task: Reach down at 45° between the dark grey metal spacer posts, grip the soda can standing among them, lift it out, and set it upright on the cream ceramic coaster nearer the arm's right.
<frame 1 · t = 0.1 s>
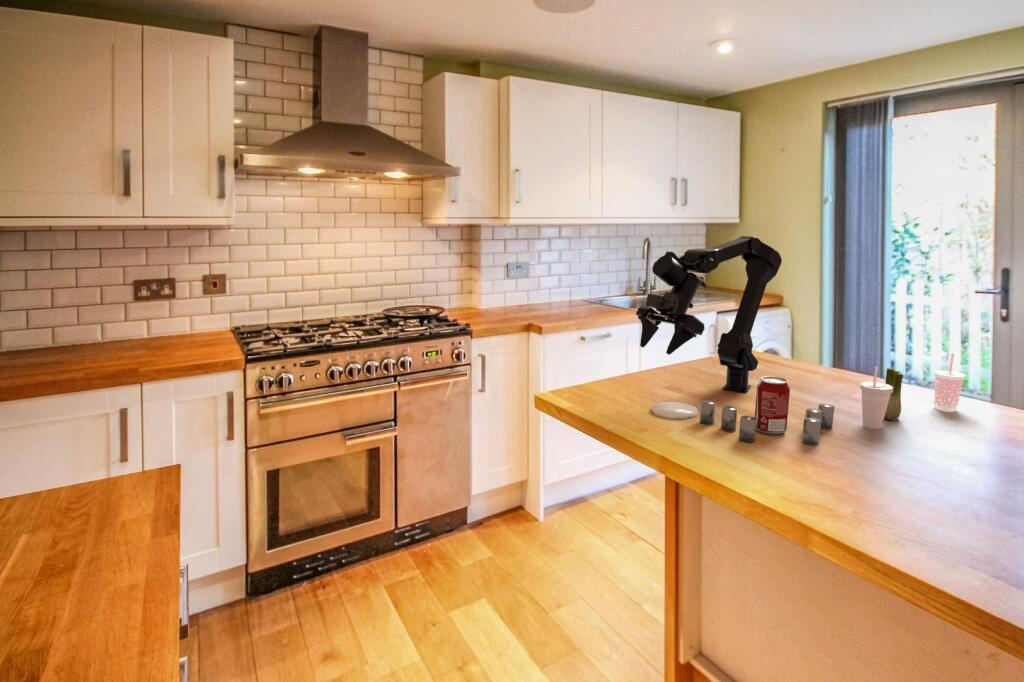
hand: (654, 350, 151), 15 cm above the countertop, tool tilted 35°, fingers open, 9 cm apart
coaster: (674, 411, 151), on the countertop
soda can: (769, 431, 137), on the countertop
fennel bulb: (887, 419, 144), on the countertop
spacer field: (769, 430, 137), on the countertop
smoothie: (871, 427, 139), on the countertop
beverage cup: (944, 409, 150), on the countertop
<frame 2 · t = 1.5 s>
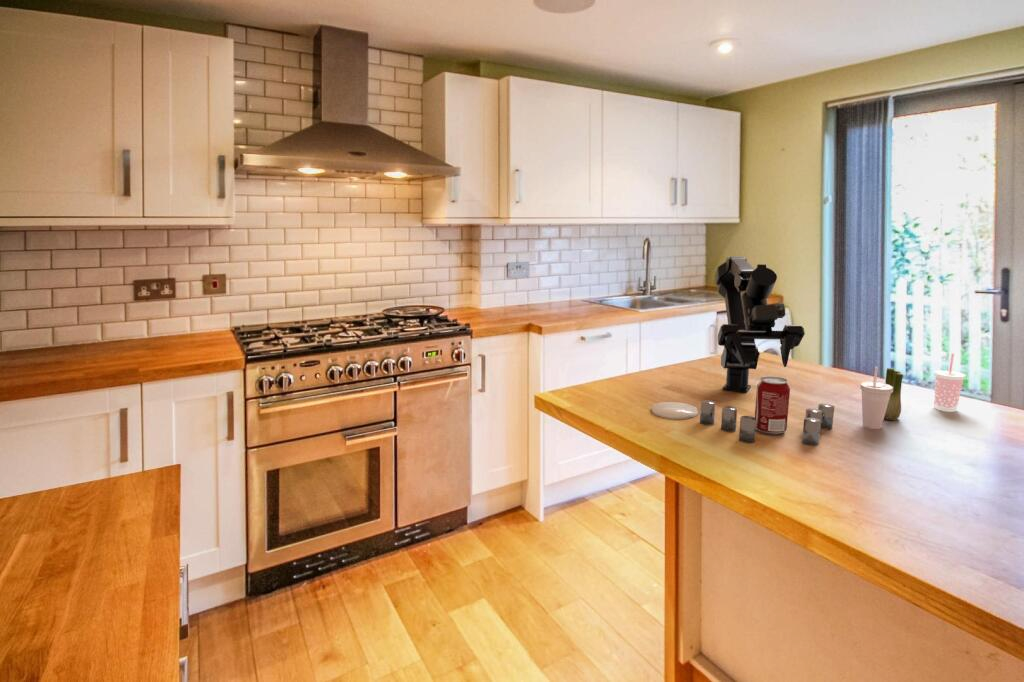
hand: (764, 365, 142), 13 cm above the countertop, tool tilted 45°, fingers open, 9 cm apart
nothing on the countertop moved.
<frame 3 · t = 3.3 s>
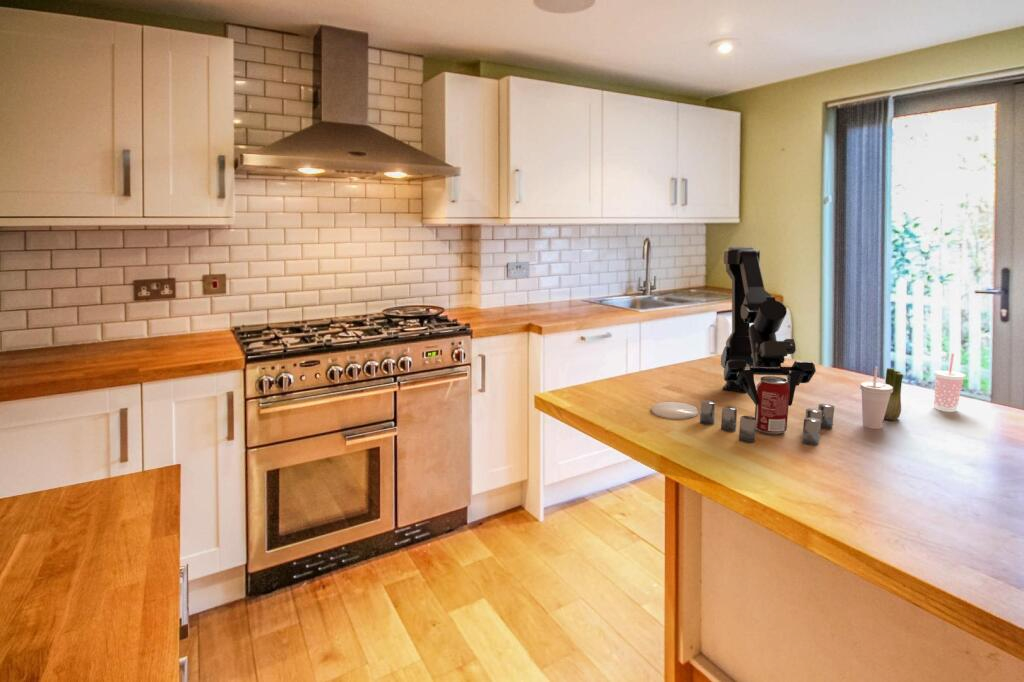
hand: (773, 404, 134), 7 cm above the countertop, tool tilted 45°, fingers closed on soda can, 7 cm apart
soda can: (769, 431, 137), on the countertop, touching gripper
everything else where it was.
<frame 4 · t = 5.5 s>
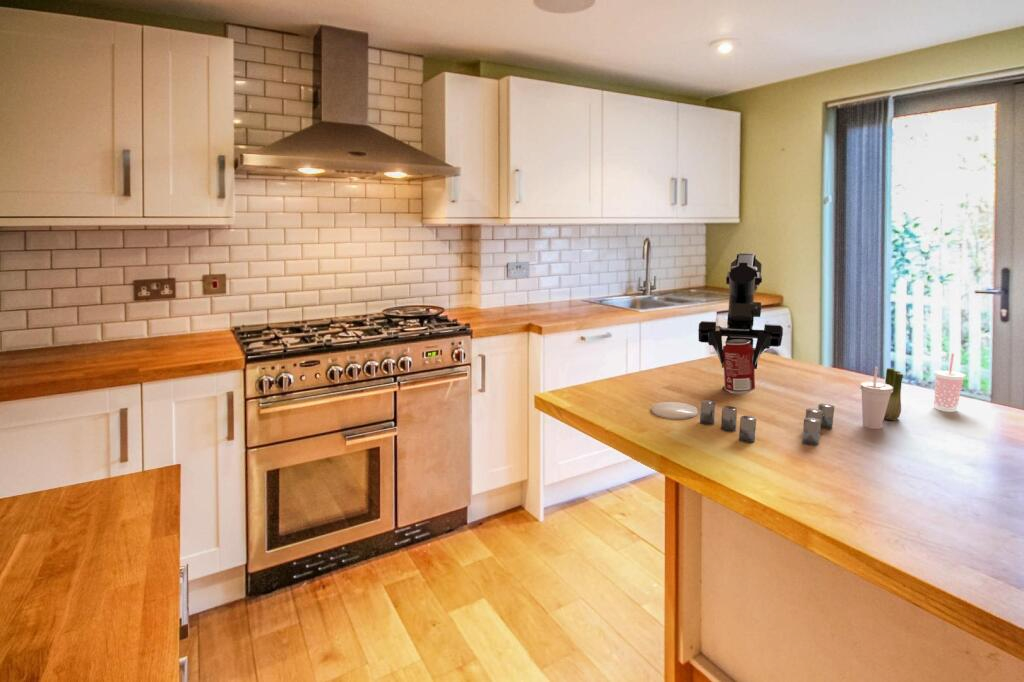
hand: (737, 363, 142), 14 cm above the countertop, tool tilted 45°, fingers closed on soda can, 7 cm apart
soda can: (739, 391, 144), point 6 cm above the countertop, touching gripper
everything else where it was.
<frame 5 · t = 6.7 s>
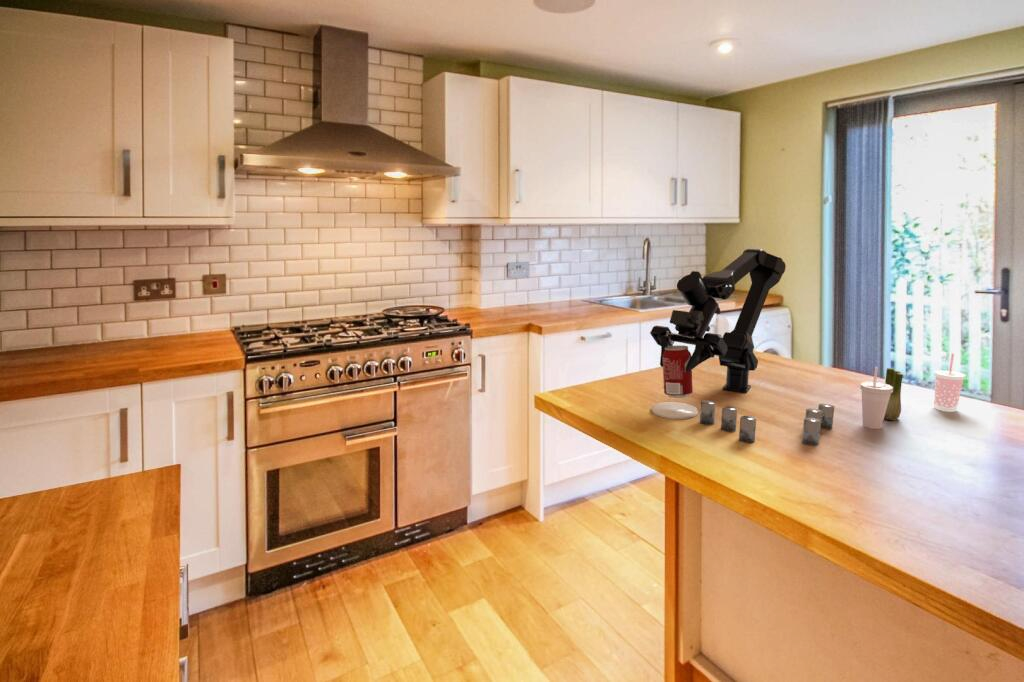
hand: (673, 368, 147), 11 cm above the countertop, tool tilted 45°, fingers closed on soda can, 7 cm apart
soda can: (678, 396, 149), point 4 cm above the countertop, touching gripper
everything else where it was.
when the fingers open (8 cm above the countertop, at t = 7.7 s): soda can stays where it is, resting on coaster.
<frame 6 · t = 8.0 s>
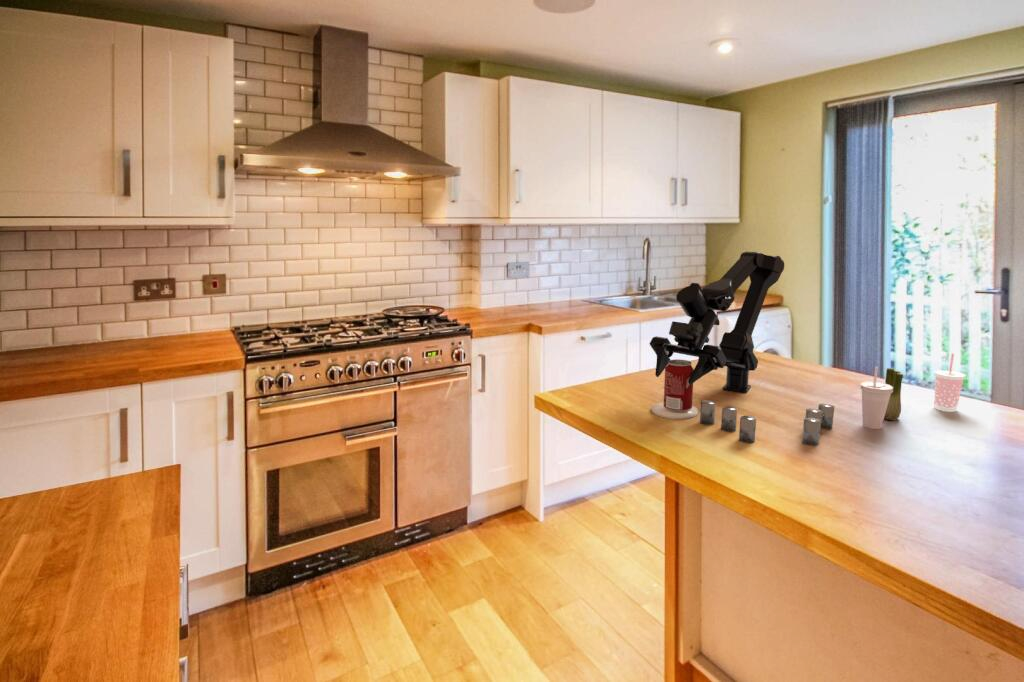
hand: (672, 379, 148), 9 cm above the countertop, tool tilted 45°, fingers open, 9 cm apart
soda can: (677, 410, 150), point 1 cm above the countertop, touching coaster
everything else where it was.
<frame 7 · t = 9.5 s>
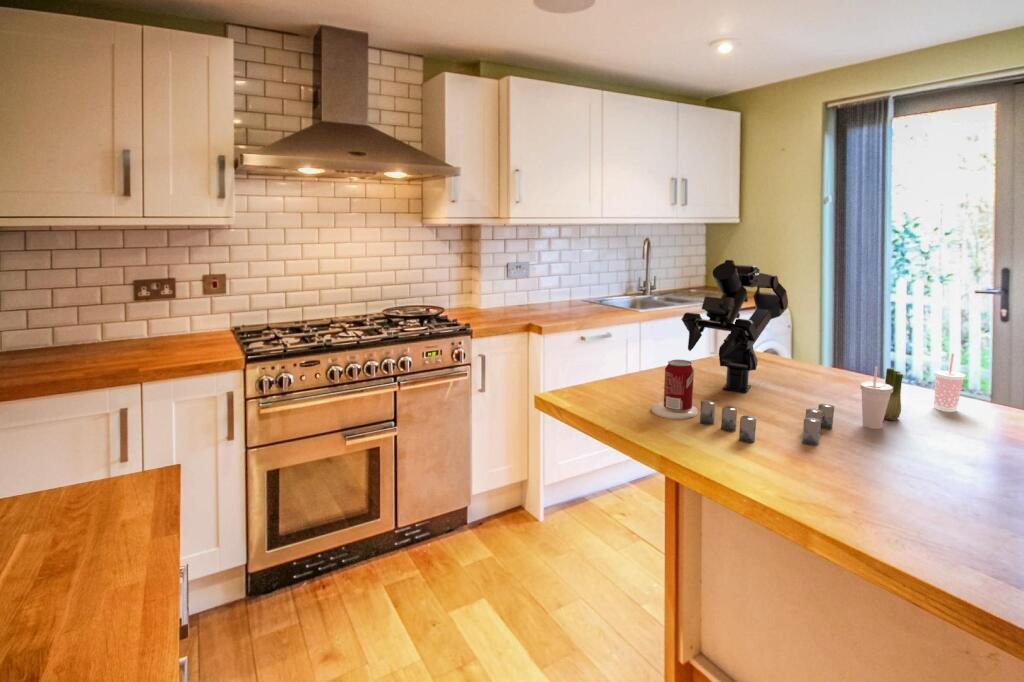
hand: (705, 352, 154), 14 cm above the countertop, tool tilted 45°, fingers open, 9 cm apart
nothing on the countertop moved.
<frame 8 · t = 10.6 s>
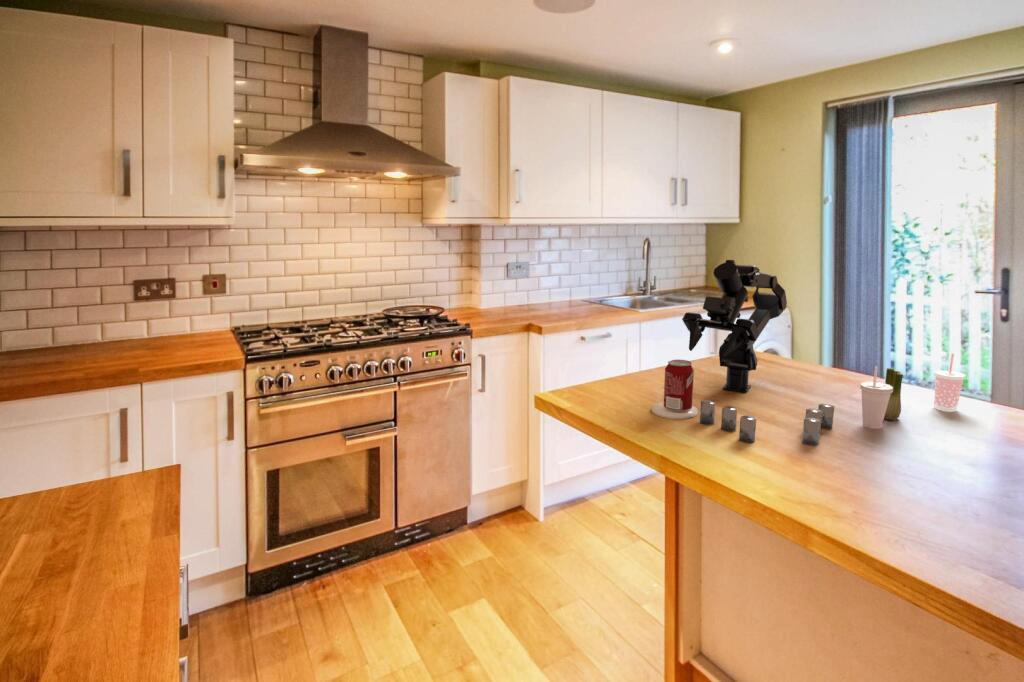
hand: (706, 352, 153), 14 cm above the countertop, tool tilted 45°, fingers open, 9 cm apart
nothing on the countertop moved.
at the end: soda can inside the target area on the coaster (0.8 cm from its centre), point 0.6 cm above the coaster's base; soda can tilted 0°; the gripper is holding nothing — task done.
